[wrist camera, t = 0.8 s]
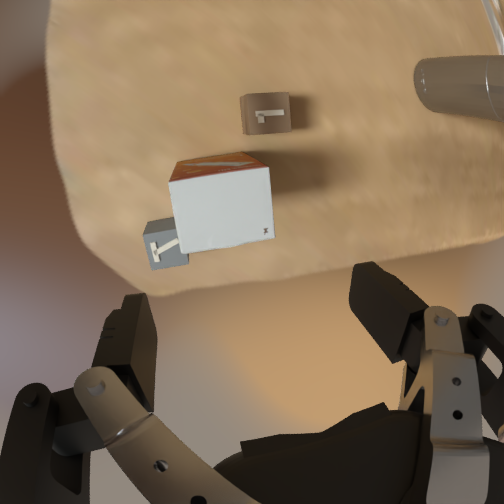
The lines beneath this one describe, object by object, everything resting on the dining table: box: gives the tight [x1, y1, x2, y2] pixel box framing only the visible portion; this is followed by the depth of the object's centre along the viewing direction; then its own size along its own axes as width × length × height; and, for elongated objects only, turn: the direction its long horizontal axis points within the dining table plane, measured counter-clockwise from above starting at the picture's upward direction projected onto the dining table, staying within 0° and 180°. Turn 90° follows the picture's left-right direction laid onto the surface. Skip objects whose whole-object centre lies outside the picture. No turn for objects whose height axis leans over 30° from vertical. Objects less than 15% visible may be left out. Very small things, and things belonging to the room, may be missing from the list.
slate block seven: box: [143, 217, 189, 270], centre depth 34 cm, size 4×4×5 cm
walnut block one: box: [240, 92, 291, 135], centre depth 30 cm, size 4×4×5 cm
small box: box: [168, 152, 275, 254], centre depth 28 cm, size 8×6×13 cm
